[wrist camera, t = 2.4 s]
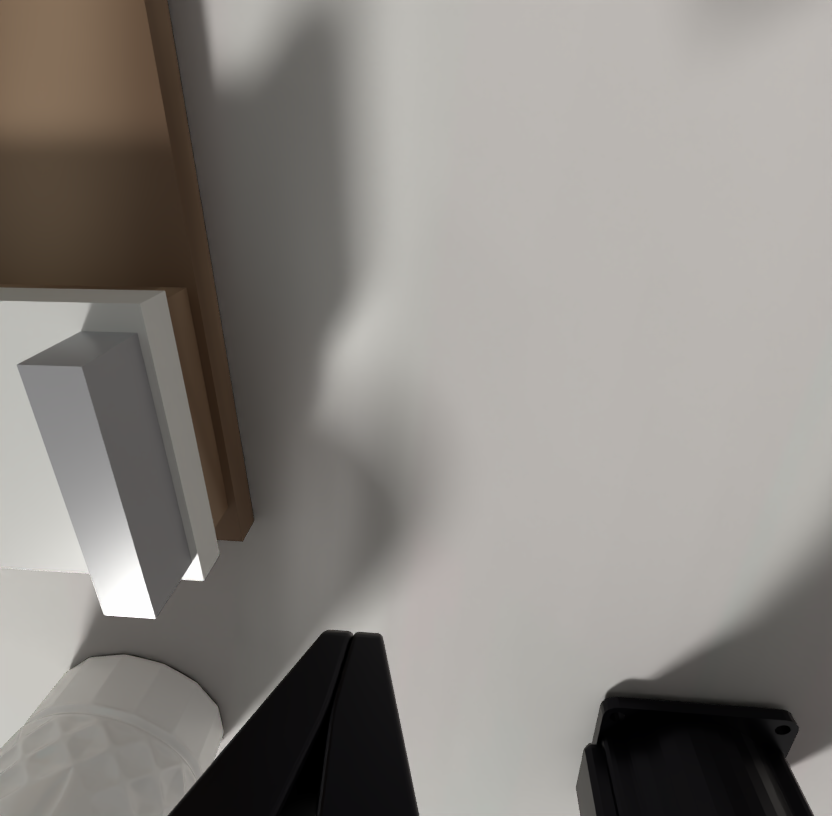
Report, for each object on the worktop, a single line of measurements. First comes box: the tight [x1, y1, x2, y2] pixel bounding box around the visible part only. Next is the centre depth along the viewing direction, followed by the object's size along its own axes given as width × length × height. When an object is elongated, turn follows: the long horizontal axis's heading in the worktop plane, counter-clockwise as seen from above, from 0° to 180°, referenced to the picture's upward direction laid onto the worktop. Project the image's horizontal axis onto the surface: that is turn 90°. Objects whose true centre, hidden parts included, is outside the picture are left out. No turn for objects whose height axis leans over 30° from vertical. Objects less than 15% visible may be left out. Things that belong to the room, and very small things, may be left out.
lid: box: [0, 287, 220, 619], centre depth 13 cm, size 7×7×3 cm
